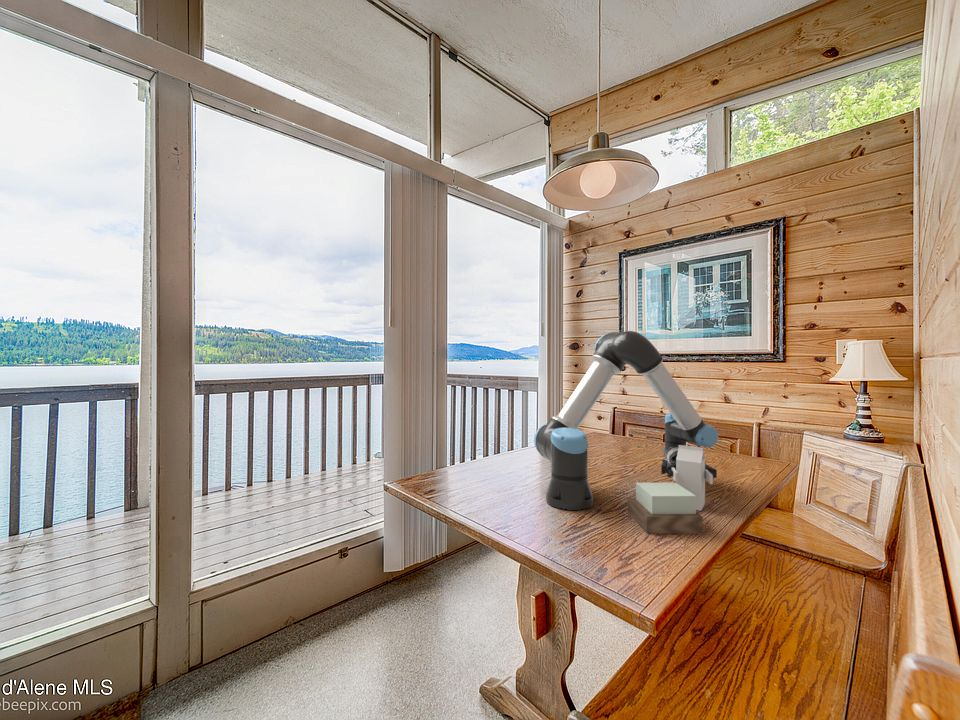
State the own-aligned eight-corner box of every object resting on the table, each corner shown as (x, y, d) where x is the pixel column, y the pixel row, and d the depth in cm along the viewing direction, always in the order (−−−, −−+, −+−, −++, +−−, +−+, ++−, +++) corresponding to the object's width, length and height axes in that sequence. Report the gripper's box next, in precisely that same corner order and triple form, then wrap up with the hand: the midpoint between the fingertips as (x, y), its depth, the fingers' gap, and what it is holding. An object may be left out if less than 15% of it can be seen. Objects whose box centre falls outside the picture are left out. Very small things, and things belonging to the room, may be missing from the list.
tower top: (652, 514, 113) (652, 496, 113) (635, 499, 125) (635, 482, 125) (696, 514, 113) (695, 495, 113) (675, 498, 125) (675, 482, 125)
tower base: (646, 534, 112) (646, 516, 111) (627, 513, 127) (627, 497, 126) (702, 535, 111) (702, 516, 111) (676, 513, 126) (676, 497, 126)
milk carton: (701, 511, 126) (701, 450, 126) (676, 506, 131) (676, 446, 130) (705, 504, 132) (705, 445, 132) (680, 500, 136) (680, 443, 136)
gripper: (713, 473, 146) (733, 493, 124) (647, 468, 152) (655, 487, 130) (713, 451, 145) (733, 469, 124) (647, 448, 152) (655, 464, 130)
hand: (693, 478), depth 127 cm, fingers closed on milk carton, 9 cm apart
